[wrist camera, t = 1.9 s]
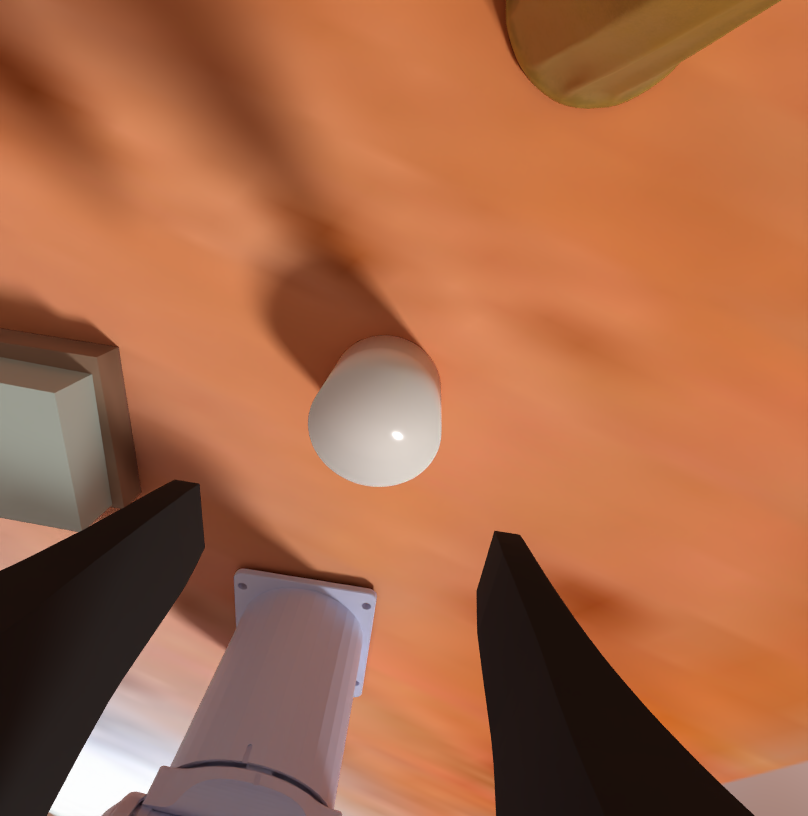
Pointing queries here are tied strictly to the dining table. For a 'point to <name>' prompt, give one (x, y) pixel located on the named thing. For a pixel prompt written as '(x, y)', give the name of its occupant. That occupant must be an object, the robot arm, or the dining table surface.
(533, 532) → the dining table surface
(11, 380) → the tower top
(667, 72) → the vase
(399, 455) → the white rounded dome
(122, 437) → the tower base
